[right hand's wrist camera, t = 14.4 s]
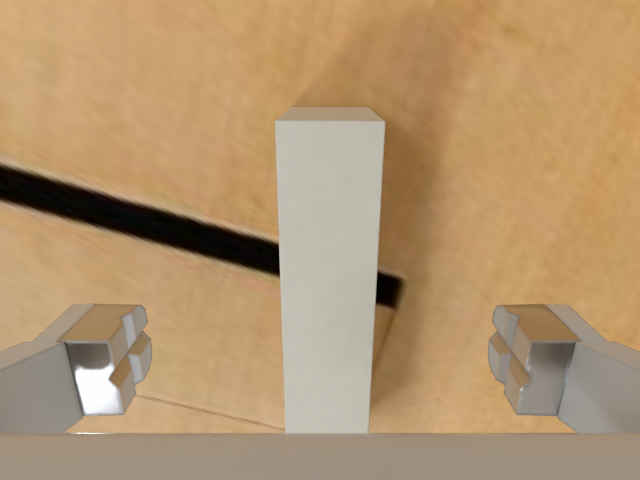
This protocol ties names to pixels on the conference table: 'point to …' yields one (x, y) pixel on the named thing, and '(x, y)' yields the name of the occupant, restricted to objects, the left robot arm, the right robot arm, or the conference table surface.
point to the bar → (328, 263)
